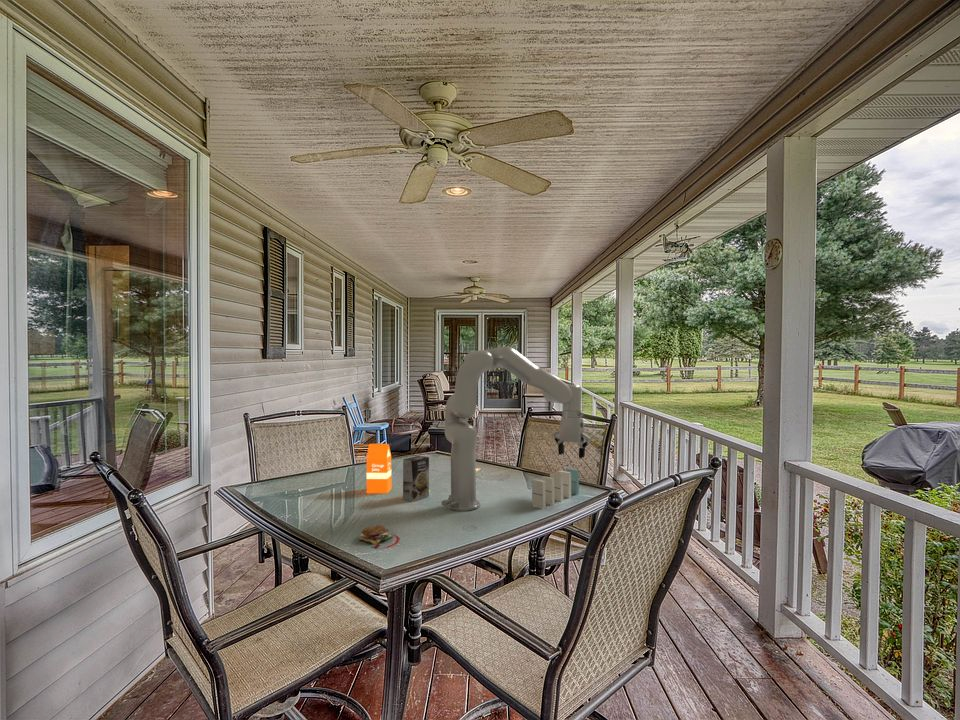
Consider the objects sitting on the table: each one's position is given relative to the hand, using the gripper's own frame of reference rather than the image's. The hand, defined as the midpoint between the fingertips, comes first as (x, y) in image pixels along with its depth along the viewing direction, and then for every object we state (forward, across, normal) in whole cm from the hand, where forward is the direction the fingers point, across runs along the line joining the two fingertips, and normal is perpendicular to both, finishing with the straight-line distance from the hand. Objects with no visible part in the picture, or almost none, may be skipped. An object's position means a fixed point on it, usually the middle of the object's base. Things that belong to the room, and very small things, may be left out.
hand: (571, 455), depth 186 cm
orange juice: (+18, +64, +50) cm, 83 cm away
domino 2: (+16, 0, +17) cm, 23 cm away
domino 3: (+16, 0, +11) cm, 19 cm away
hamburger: (+18, +18, +83) cm, 87 cm away
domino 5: (+16, 0, -1) cm, 16 cm away
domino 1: (+16, 0, +23) cm, 28 cm away
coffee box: (+17, +44, +46) cm, 66 cm away
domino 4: (+16, 0, +5) cm, 17 cm away
